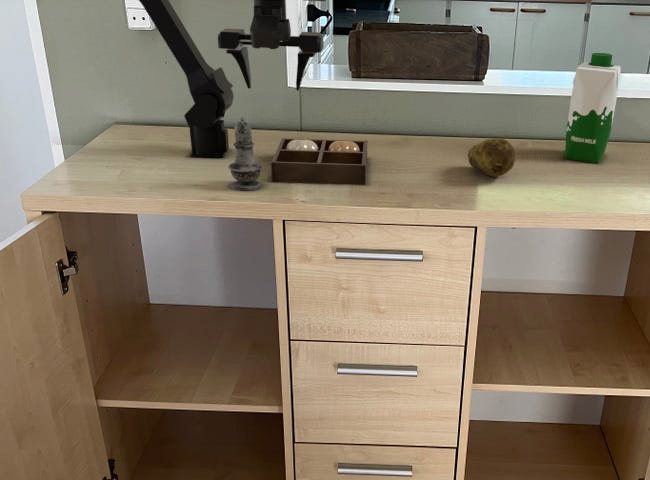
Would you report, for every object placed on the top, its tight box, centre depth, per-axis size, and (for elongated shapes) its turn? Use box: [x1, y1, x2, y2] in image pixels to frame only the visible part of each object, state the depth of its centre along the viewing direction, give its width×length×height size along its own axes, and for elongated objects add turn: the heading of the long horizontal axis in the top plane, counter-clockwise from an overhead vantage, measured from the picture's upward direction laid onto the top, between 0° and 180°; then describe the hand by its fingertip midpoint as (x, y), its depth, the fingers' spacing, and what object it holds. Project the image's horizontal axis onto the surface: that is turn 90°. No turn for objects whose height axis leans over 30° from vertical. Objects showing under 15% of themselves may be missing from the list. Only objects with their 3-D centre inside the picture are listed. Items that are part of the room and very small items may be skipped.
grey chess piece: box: [227, 116, 263, 192], centre depth 132 cm, size 6×6×12 cm
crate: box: [270, 137, 368, 185], centre depth 144 cm, size 17×17×4 cm
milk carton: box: [564, 52, 622, 164], centre depth 154 cm, size 9×9×20 cm
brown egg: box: [328, 140, 360, 152], centre depth 148 cm, size 6×4×4 cm
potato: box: [467, 137, 517, 178], centre depth 143 cm, size 8×13×8 cm, turn 179°
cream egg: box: [286, 140, 319, 151], centre depth 147 cm, size 6×4×4 cm
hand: (273, 89), depth 144 cm, fingers open, 9 cm apart
